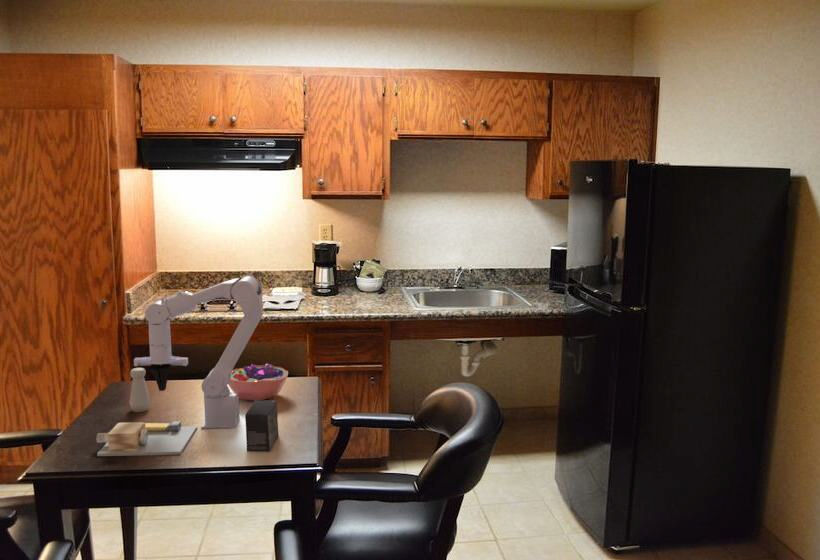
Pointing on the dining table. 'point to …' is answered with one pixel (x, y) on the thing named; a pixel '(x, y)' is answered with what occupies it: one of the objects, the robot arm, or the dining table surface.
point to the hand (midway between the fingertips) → (162, 389)
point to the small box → (261, 426)
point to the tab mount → (175, 426)
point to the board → (158, 443)
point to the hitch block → (125, 436)
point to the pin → (142, 437)
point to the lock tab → (158, 426)
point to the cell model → (257, 381)
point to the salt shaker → (139, 391)
